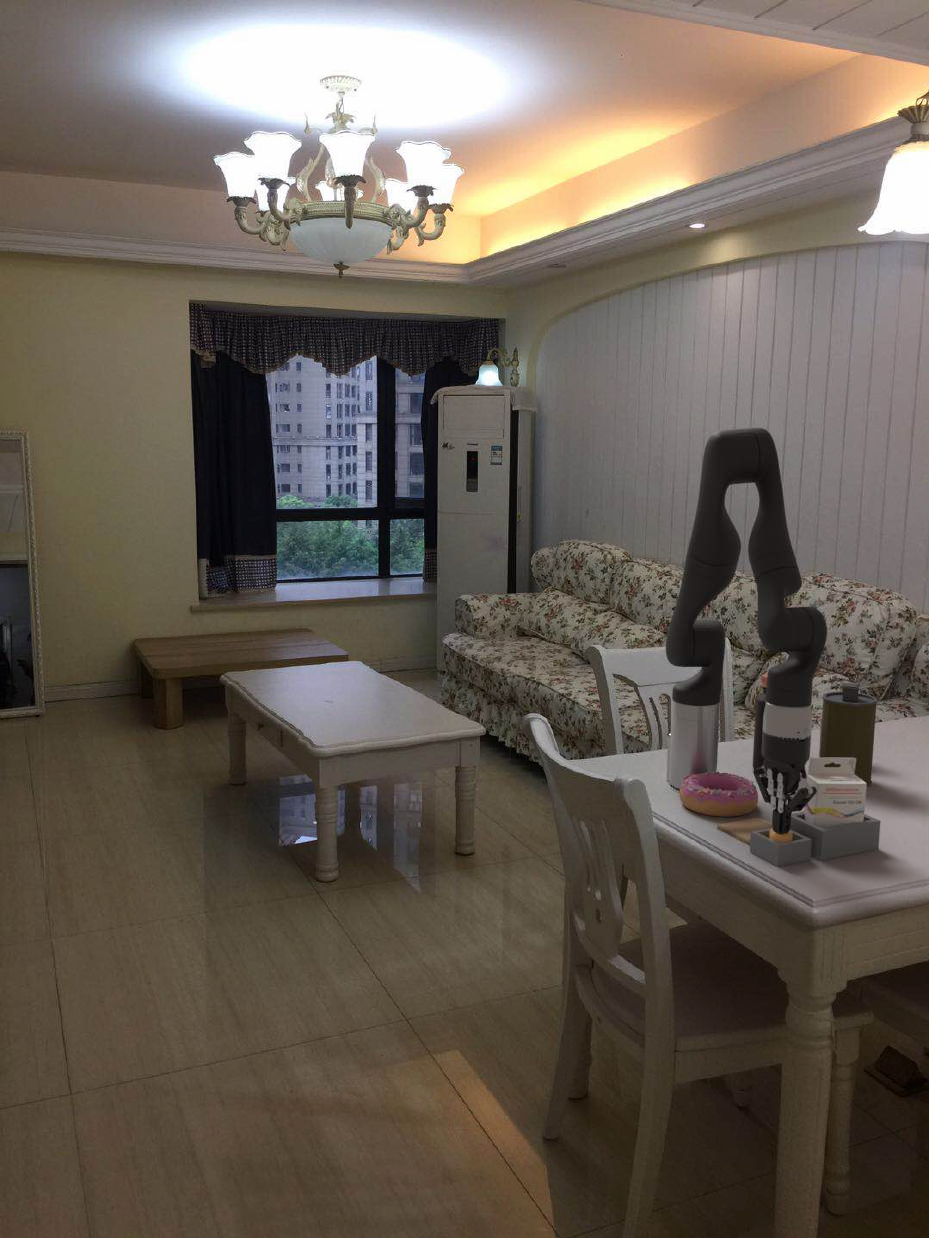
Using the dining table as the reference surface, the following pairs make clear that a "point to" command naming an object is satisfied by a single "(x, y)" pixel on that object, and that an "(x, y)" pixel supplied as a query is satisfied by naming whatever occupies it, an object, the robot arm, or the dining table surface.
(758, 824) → the walnut pad
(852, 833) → the gray open bin
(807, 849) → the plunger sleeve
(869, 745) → the canister
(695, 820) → the dining table surface
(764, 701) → the black water bottle
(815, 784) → the ink cartridge box
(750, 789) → the donut
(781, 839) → the egg
